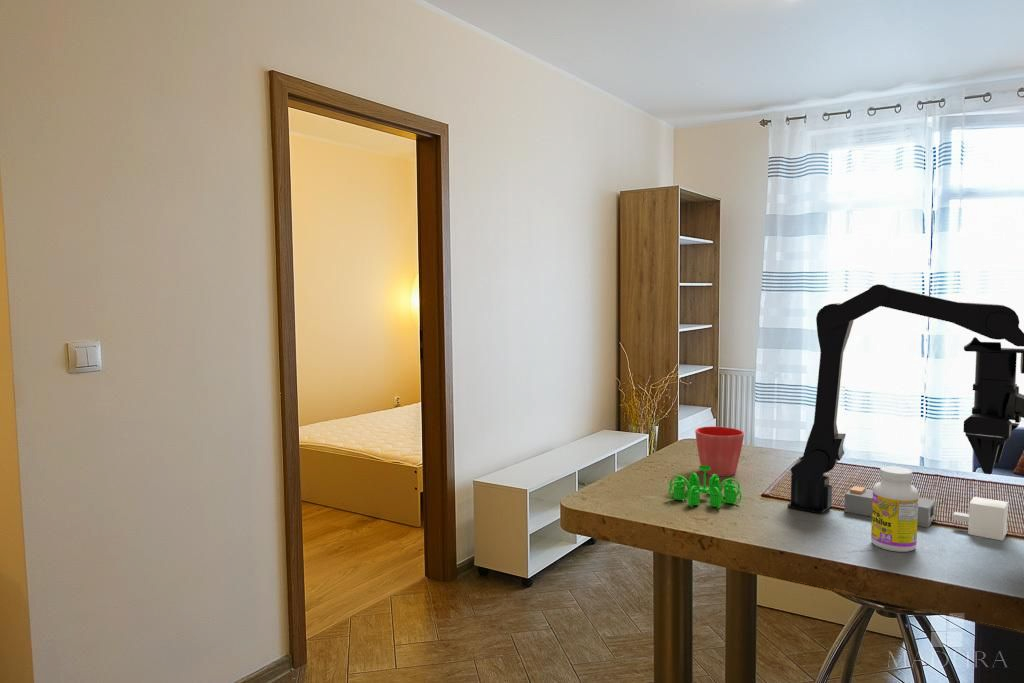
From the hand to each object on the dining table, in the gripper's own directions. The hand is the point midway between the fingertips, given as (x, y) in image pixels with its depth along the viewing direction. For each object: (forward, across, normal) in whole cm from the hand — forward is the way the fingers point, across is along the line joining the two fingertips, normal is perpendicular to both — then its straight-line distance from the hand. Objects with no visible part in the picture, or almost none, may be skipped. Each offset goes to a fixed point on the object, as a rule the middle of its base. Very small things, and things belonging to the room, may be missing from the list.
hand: (991, 468), depth 121 cm
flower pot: (+12, +10, +54) cm, 56 cm away
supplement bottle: (+12, -17, +11) cm, 23 cm away
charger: (+11, 0, +1) cm, 12 cm away
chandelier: (+12, -12, +47) cm, 50 cm away
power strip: (+12, 0, +16) cm, 19 cm away
